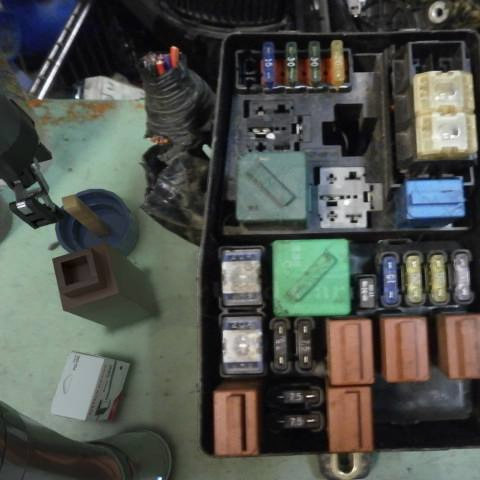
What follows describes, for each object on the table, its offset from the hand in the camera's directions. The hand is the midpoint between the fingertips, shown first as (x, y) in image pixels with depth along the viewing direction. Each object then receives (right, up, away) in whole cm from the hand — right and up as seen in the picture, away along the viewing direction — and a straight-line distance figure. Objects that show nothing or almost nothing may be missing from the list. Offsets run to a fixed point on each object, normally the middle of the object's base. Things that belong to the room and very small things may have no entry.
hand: (51, 188), depth 69 cm
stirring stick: (-1, -5, +18) cm, 19 cm away
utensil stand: (+4, -16, +16) cm, 23 cm away
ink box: (+2, -29, +12) cm, 32 cm away
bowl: (-1, -6, +19) cm, 20 cm away
